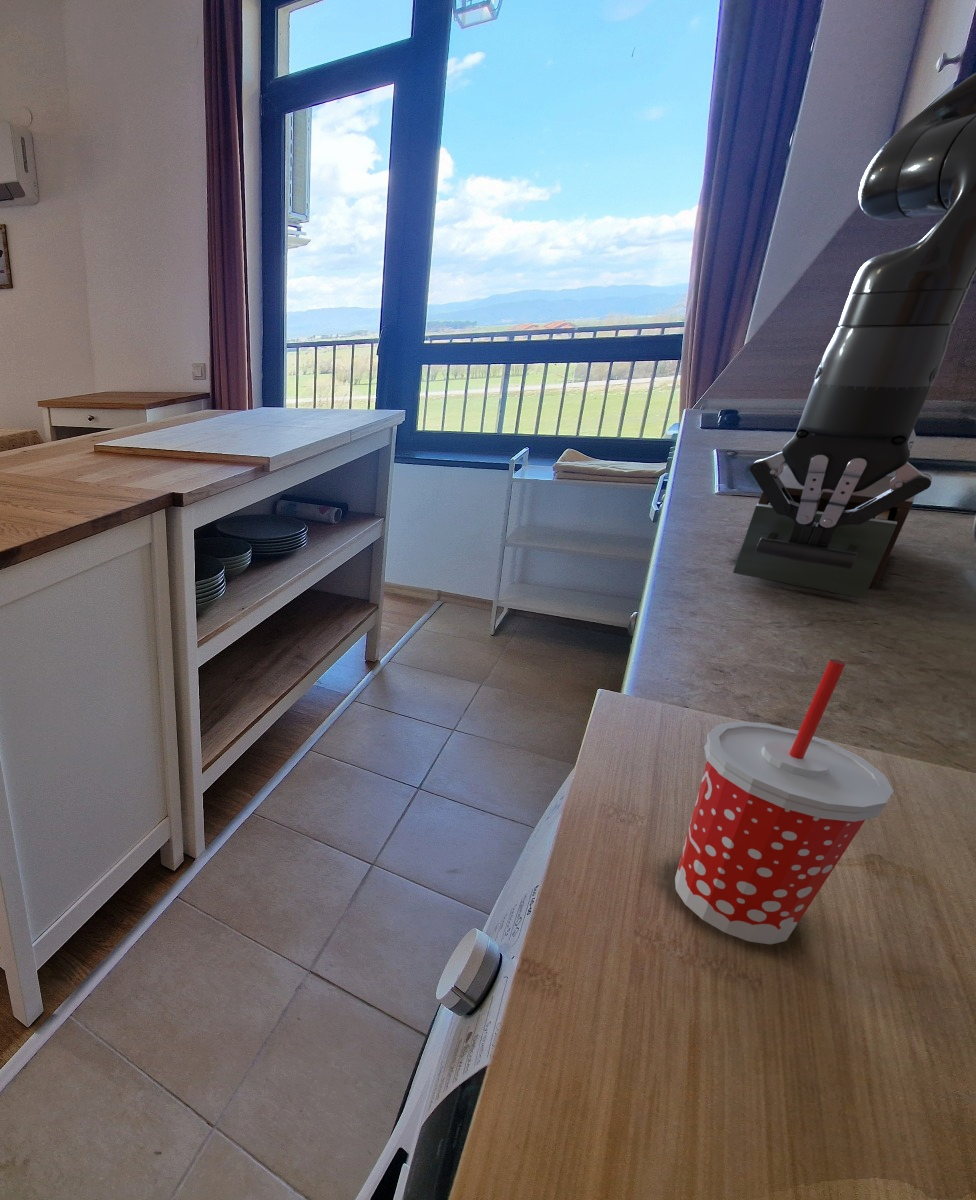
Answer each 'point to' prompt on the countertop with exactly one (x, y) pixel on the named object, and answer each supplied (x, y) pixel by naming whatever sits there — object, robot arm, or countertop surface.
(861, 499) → the cabinet
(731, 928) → the beverage cup
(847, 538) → the drawer
